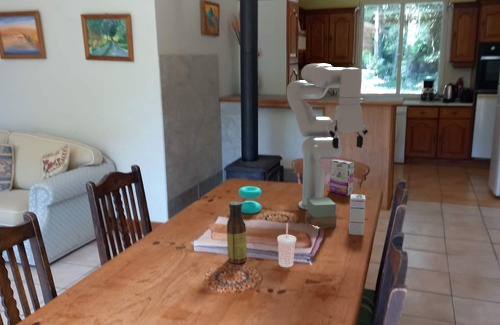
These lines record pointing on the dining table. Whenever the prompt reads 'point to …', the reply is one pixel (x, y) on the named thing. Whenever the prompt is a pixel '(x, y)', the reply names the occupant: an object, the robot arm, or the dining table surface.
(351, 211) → the syrup box
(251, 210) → the donuts
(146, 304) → the dining table surface
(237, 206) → the sauce bottle
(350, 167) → the candy bar box
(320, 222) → the tower base
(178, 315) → the dining table surface
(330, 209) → the tower top
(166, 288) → the dining table surface
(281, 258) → the beverage cup
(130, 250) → the dining table surface
